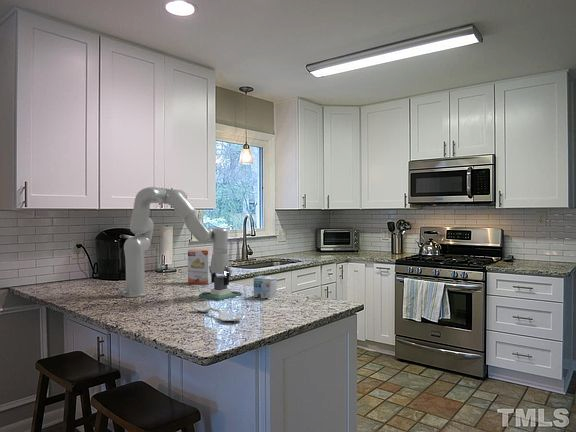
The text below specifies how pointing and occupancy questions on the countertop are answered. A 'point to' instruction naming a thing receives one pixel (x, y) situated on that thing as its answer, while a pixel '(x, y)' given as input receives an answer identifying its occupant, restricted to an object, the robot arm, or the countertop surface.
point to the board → (220, 294)
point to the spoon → (221, 314)
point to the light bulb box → (265, 286)
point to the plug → (219, 283)
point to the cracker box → (199, 266)
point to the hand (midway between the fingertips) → (220, 283)
